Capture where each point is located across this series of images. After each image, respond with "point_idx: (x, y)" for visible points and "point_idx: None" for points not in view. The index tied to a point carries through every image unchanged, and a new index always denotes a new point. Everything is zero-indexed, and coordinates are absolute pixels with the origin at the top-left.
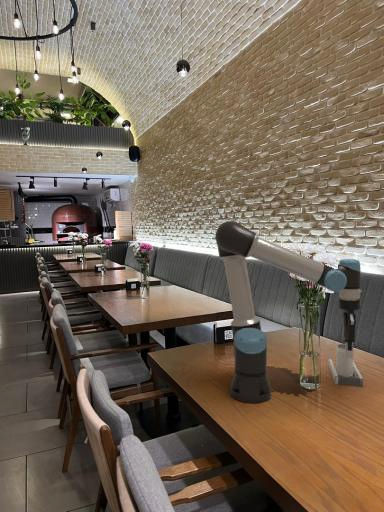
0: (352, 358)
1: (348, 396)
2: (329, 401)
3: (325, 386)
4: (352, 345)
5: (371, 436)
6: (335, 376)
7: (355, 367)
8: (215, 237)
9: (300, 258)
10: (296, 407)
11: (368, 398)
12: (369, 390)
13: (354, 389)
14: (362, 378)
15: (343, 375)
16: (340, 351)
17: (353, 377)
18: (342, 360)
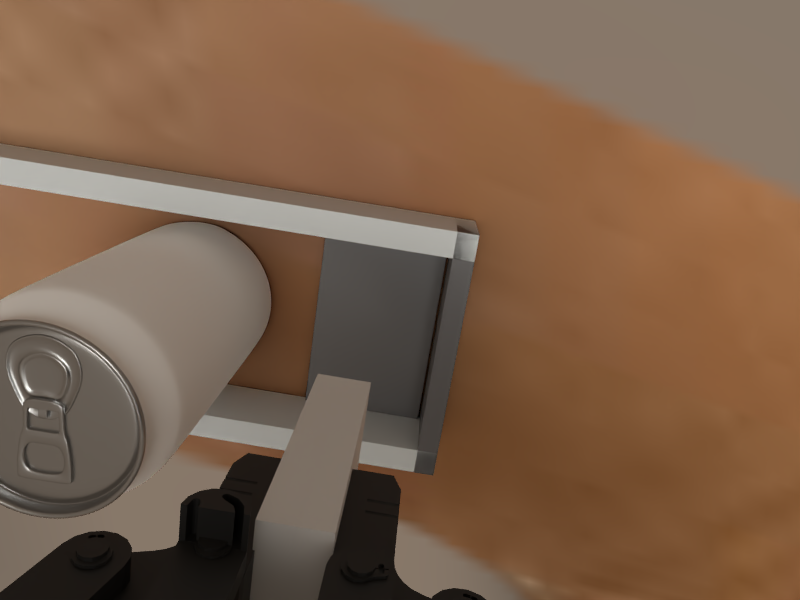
0: (172, 286)
1: (673, 414)
2: (746, 572)
3: (477, 524)
4: (344, 502)
5: None
6: (423, 473)
7: (157, 196)
8: None
9: None
10: None
11: (726, 267)
12: (563, 192)
13: (538, 318)
14: (469, 237)
15: (264, 327)
16: (150, 477)
17: (442, 317)
18: (211, 402)
